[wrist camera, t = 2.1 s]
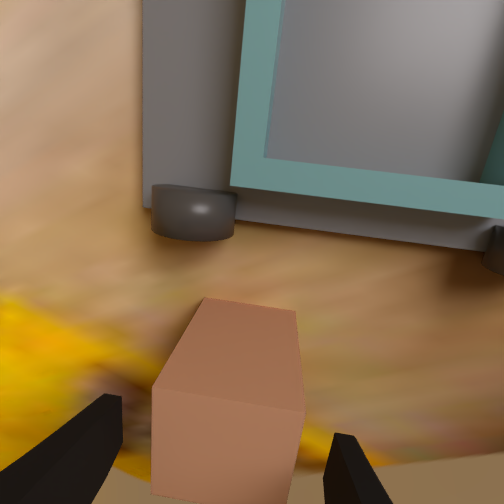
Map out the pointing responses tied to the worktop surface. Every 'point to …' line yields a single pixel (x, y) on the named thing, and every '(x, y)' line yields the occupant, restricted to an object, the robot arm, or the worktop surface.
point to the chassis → (327, 119)
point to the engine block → (229, 407)
